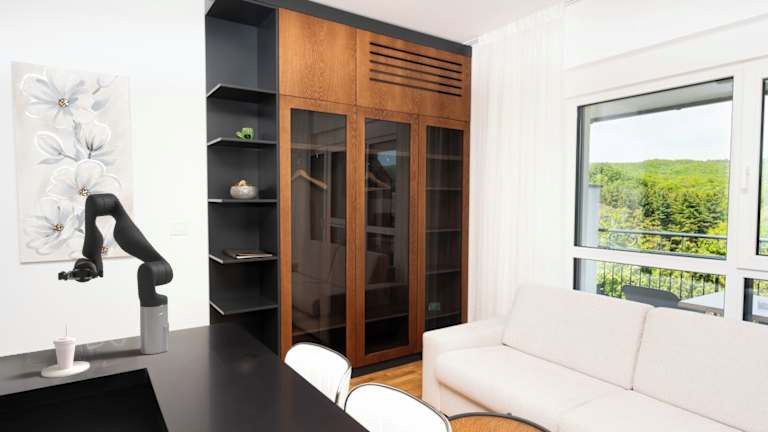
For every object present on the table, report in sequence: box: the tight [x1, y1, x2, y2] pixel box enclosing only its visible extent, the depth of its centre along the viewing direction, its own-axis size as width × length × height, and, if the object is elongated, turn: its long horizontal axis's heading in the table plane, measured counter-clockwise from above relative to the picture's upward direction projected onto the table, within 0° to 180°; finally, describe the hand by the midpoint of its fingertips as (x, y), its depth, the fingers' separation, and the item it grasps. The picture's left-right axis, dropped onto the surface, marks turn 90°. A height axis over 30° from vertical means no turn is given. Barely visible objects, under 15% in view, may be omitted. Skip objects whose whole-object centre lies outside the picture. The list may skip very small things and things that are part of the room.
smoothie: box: [52, 324, 78, 370], centre depth 149 cm, size 6×6×14 cm
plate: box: [40, 360, 91, 379], centre depth 149 cm, size 13×13×1 cm
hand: (79, 276), depth 167 cm, fingers open, 8 cm apart
